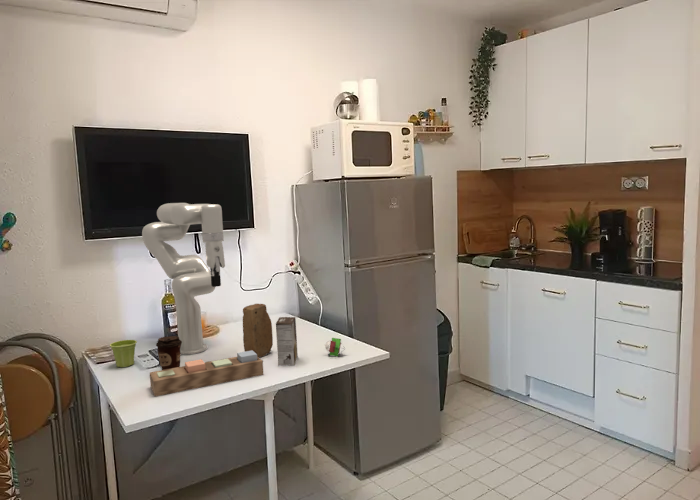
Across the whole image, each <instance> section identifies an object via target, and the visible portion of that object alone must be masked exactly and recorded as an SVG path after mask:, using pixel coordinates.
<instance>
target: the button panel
mask: <svg viewBox="0 0 700 500" xmlns="http://www.w3.org/2000/svg"><path fill="white" fill-rule="evenodd" d="M223 359H224V358H223ZM223 359H220V360H223ZM226 359H229V360H230V361H231V362H232V365H229V366H224V367H218V368H214V367H213V365H212V361H213V360H211V361H206V362H204V361H203V362H204V363H205V368H206V370H202V371H197V372H191V373H187V372H186V370H185V365H183V366H182V365H181V366H180V367H177V368H171V369H166V370H162V369H161V370H155V371H150V372H149V381H150V388H151V391H152V393H153V396H154V397H159V396H164V395H169V394H175V393H180V392H184V391H190V390H194V389H199V388H203V387H204V388H205V387H209V386H214V385H219V384H223V383H224V384H225V383H230V382H234V381H239V380H244V379H250V378H254V377H259V376H264V363H263V362H264V361H263V360H262V359H261V357H258V356H257V360H256V361H250V362H245V363H240V362H239V361H238V360H237V356H232V357H228V358H226ZM217 360H218V359H217ZM217 360H214V361H217Z"/></svg>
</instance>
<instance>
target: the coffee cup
mask: <svg viewBox="0 0 700 500" xmlns="http://www.w3.org/2000/svg"><path fill="white" fill-rule="evenodd" d="M181 344H182V341H181V340H180V339H179V337H178V335H170V336H169V335H168V336H162V337H159V338H158V339H157V342H156V343H155V346H156V347H157V354H158V359H159V365H160V368H161V370H166V369H171V368H177V367H181V355H182V354H181V352H180V348H181Z"/></svg>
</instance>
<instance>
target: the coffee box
mask: <svg viewBox="0 0 700 500" xmlns="http://www.w3.org/2000/svg"><path fill="white" fill-rule="evenodd" d="M296 319H297V318H296V317H295V316H282V317H281V316H280V317H278V319H277V321H276V323H275V328H276V329H275V330H276V332H275V333H276V348H277V351H276V353H277V365H278V366H280V367H281V366H283V367H284V366H286V365H288V366H295V365H296V363H297V360H298V356H299V355H298V341H297V339H298V338H297V322H296Z"/></svg>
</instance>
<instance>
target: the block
mask: <svg viewBox="0 0 700 500" xmlns="http://www.w3.org/2000/svg"><path fill="white" fill-rule="evenodd" d="M267 311H268V309H267V305H266V304H264V303H254V304H250V305H246V306H245V307H243V309H242V314H243V316H242V334H243V336H242V338H243V339H242V341H243V350H244V351H243V352H245V351H251V350H253V351H254V352H255V353H256V354H257V356H258V357H259V358H262V357H265V356H267V355H269V354H270V353H271V351H272V348H273V343H274V342H273V341H274V340H273V339H274V338H273V324H272V320H271V317H270V315H269V313H268V312H267Z"/></svg>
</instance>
